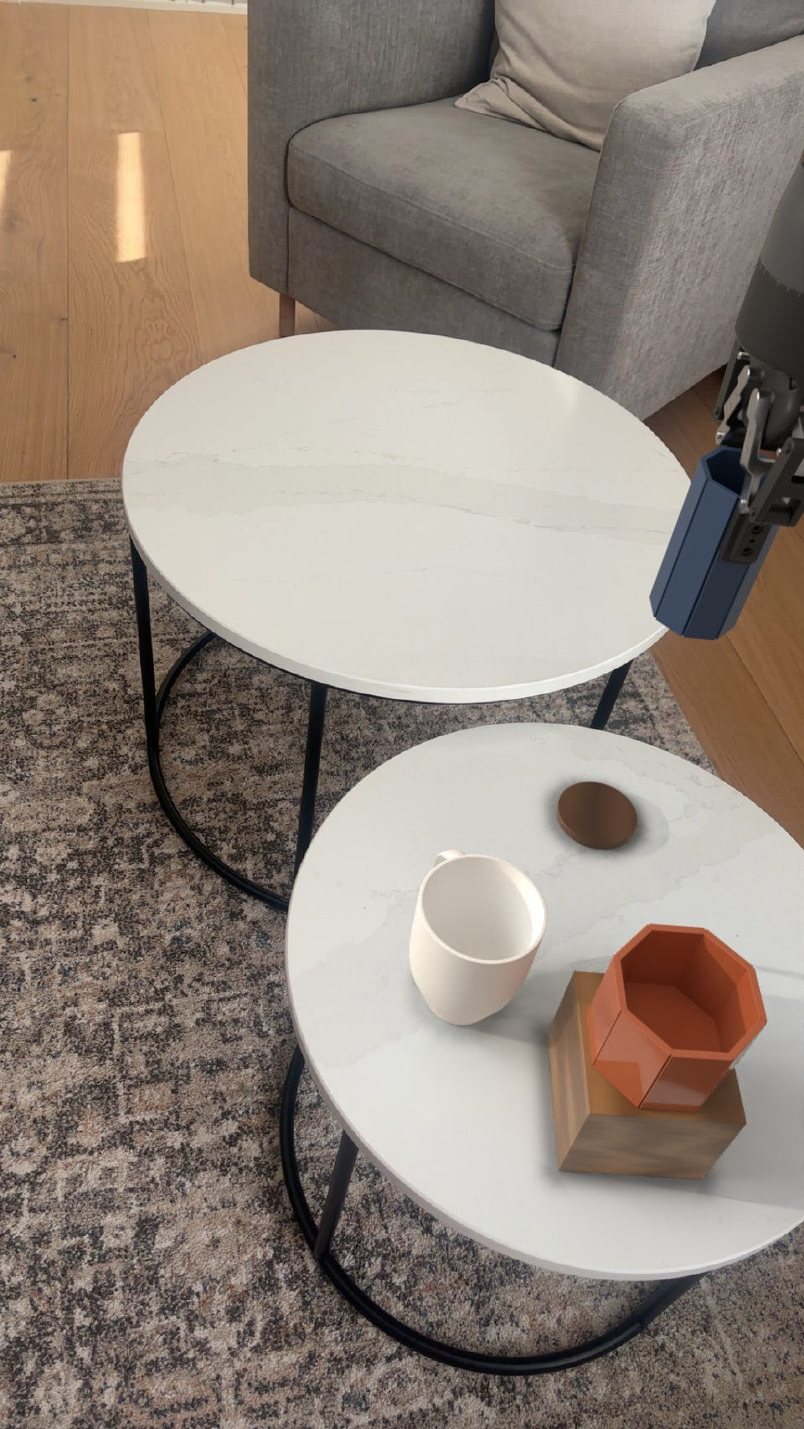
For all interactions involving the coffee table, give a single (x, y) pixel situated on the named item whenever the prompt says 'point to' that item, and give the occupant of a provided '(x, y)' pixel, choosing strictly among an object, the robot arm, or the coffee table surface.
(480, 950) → the mug
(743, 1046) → the terracotta cup
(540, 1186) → the coffee table surface
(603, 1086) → the riser
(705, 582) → the slate cup
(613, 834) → the coaster
